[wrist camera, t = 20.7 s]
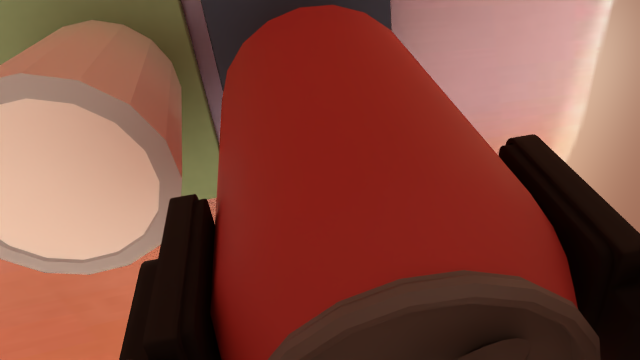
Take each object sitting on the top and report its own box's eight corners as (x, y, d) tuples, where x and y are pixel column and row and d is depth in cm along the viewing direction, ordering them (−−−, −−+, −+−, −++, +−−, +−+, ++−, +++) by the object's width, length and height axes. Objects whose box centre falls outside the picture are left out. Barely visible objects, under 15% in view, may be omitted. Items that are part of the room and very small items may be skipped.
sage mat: (-57, -61, 17) (-65, -58, 16) (156, -92, 17) (153, -90, 17) (80, 215, 24) (77, 223, 23) (231, 188, 24) (231, 195, 24)
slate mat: (179, -95, 17) (177, -94, 17) (381, -125, 18) (386, -124, 17) (247, 185, 24) (247, 192, 24) (393, 160, 24) (396, 166, 24)
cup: (23, -28, 17) (-84, 35, 11) (218, 40, 19) (211, 121, 14) (5, 138, 20) (-86, 253, 15) (174, 180, 23) (153, 294, 17)
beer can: (447, 83, 18) (710, 375, 8) (323, 203, 20) (410, 549, 10) (310, -48, 15) (462, 158, 5) (183, 110, 17) (110, 473, 7)
